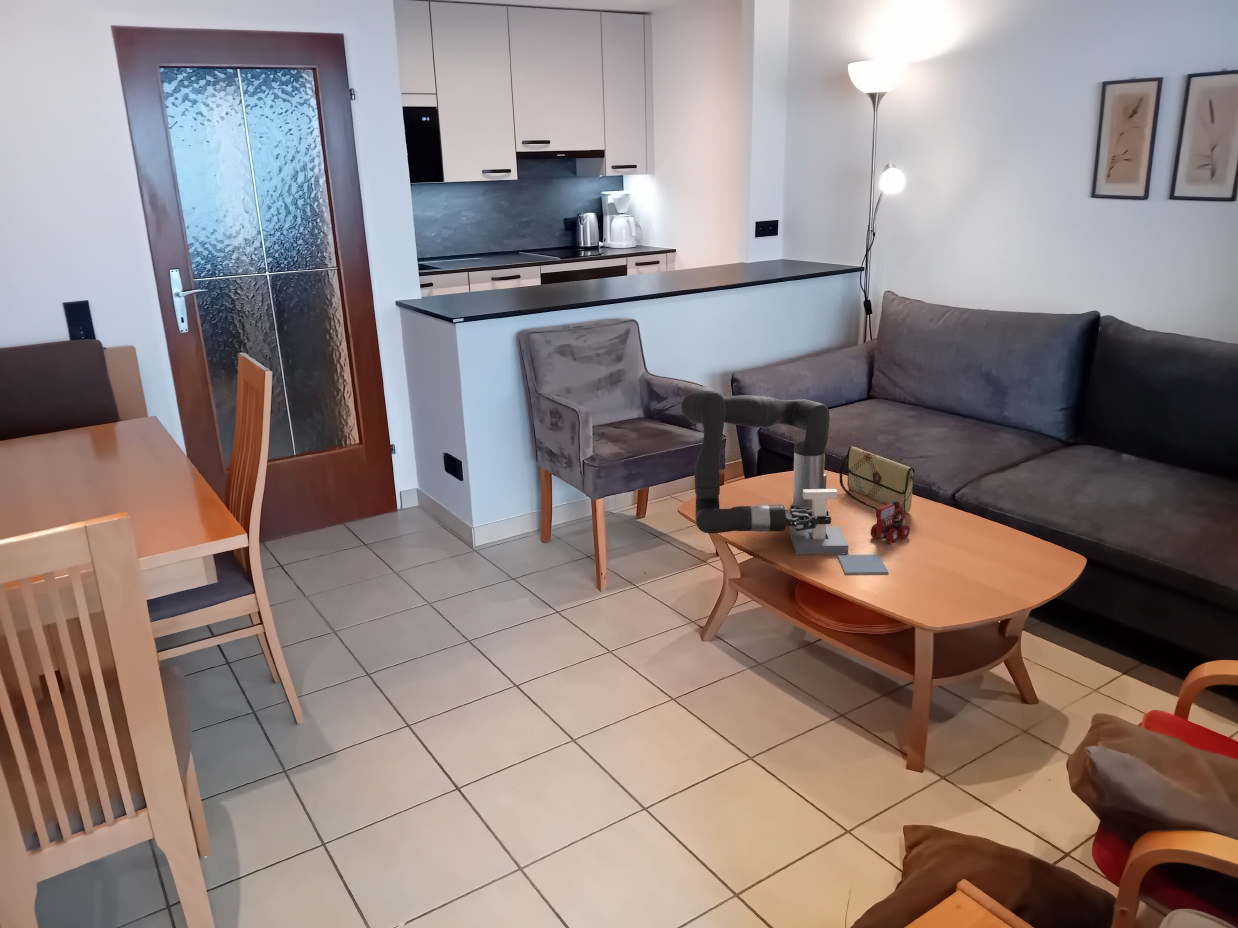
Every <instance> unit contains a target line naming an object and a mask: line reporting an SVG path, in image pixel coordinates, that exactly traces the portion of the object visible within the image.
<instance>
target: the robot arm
mask: <svg viewBox="0 0 1238 928" xmlns="http://www.w3.org/2000/svg"><path fill="white" fill-rule="evenodd" d="M680 408H681V412H682V414H683V416H684V417H685V419H686V420H688V421H689V422H691V423H693V424H696V425H697V424H698V425H702V426H703V441H702V444H701V447H700V451H699V454H698V456H697V459H696V460H695V466H694V491H695V492H694V493H695V524H696V526H697V528H698V530H699V531H700V532H702V533H704V534H723V533H729V532H757V533H760V532H761V533H762V532H763V533H764V532H765V533H767V532H768V533H770V532H775V533H776V532H779V533H780V532H785V529H786V528H787V527H790V526H791V527H796V531H802V530H807V529H813V528H816V525H817V524H826V525H830V524H831V523H832V517H831V515H829V514H830V513H829V511H828V510H827V512H826V516H812V499H804V498H803V489H827V475H826V474H825V457H826V456H825V455H826V454H825V453H826V452H825V451H826V447H827V444H828V442H829V441H828V440H829V433H830V432H829V431H830V420H831V419H830V417H831V416H830V415H831V414H830V410H829V408H828V406H827V405H826V404H824V403H821V402H818V401H813V400H809V399H803V398H802V399H779V398H776V397H770V396H764V395H753V394H751V395H749V394H745V395H742V394H741V395H727V396H725V395H724V396H723V395H722V394H721V393H720V392H719V391H715V390H694V391H692V392H690V393H688V394H687V395H686V396H685V397H684V398H683V400H682V401H681V407H680ZM725 423H726V424H731V425H735V426H740V427H741V426H743V427H750V428H763V429H764V428H770V427H773V426H775V425H783V426H790V427H794V428H796V429H800V430H802V431H805V437H804V438H803V439H800V440H798V441H796V442H794V443H795V444H794V449H793V450H794V453H793V456H794V457H793V489H792V490H793V491H792V495H793V496H792V503H793V504H792V505H791V504H790V508H788V509H785V508H786V507H785V505H784V504H756V505H745V506H744V505H740V506H738V505H737V506H733V507H731V508H720V497H719V496H720V494H721V493H720V492H721V482H720V481H721V479H720V476H721V475H720V472H721V471H720V461H721V459H720V458H721V451H722V450H721V449H722V442H723V433H724V427H725Z"/></svg>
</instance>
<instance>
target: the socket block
mask: <svg viewBox="0 0 1238 928" xmlns="http://www.w3.org/2000/svg"><path fill="white" fill-rule="evenodd" d="M789 536H790V539H791V542H792V546H793V549H794V551H795V552H794V553H795V555H798V556H799V555H849V544H848V540H847V539H846V537H845V535H844V533H843V531H842V529H841V527H840V525H826V538H825V539H811V529H807V530H802V531H796V527H791V526H789Z"/></svg>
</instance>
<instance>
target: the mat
mask: <svg viewBox="0 0 1238 928" xmlns="http://www.w3.org/2000/svg"><path fill="white" fill-rule="evenodd" d="M837 558H838V562H839V563H840V565H841V568H842V571H843V573H844V574H845V575H887V574H888V575H889V571H888V568H887V567H886V565H885V563H884V561H883V560H882V558H881V556H880V554H875V553H874V554H837Z"/></svg>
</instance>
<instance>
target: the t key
mask: <svg viewBox="0 0 1238 928" xmlns="http://www.w3.org/2000/svg"><path fill="white" fill-rule="evenodd" d="M803 498H804V499H812V509H811V510H812V516H826V512H827V511H828V509H827V508H828V507H827V504H828V500H830V499H831V500H834V499H838V490H837V489H836V488H826V489H803ZM826 526H827V524H817V525H816V528H813V529H811V539H825V538H826Z"/></svg>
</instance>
